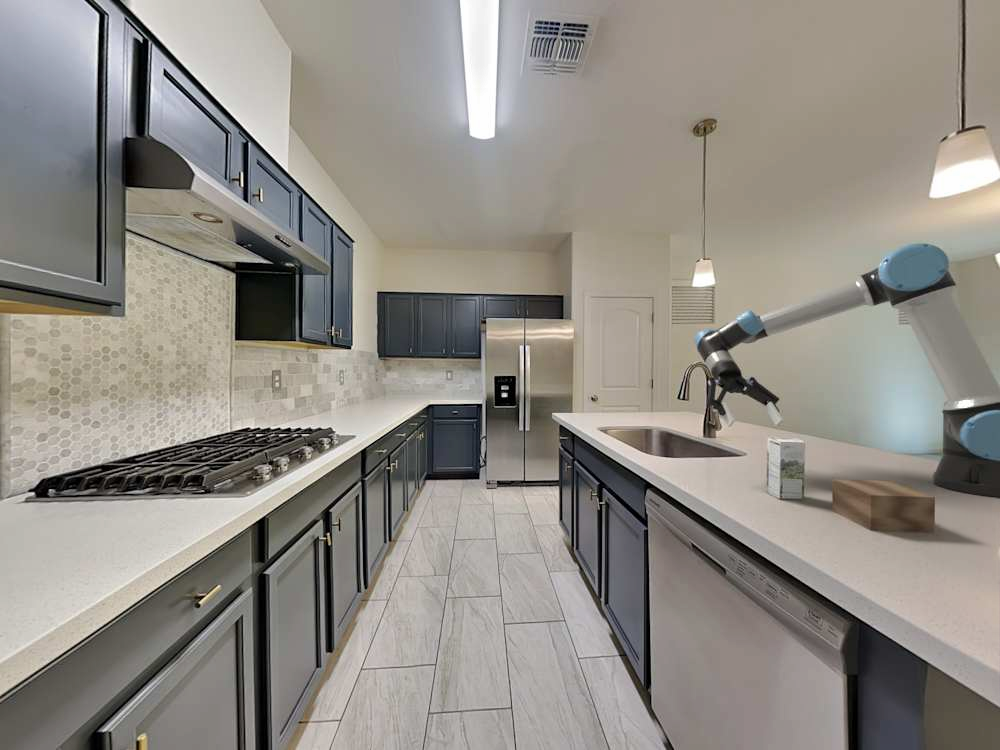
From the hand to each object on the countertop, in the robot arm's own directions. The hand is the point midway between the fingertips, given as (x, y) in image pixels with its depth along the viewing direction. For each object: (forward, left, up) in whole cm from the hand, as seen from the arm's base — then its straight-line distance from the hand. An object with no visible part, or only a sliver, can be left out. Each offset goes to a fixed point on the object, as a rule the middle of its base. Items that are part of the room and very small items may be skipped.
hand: (755, 423), depth 109 cm
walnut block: (-12, +25, -17) cm, 33 cm away
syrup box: (-2, +11, -17) cm, 20 cm away
